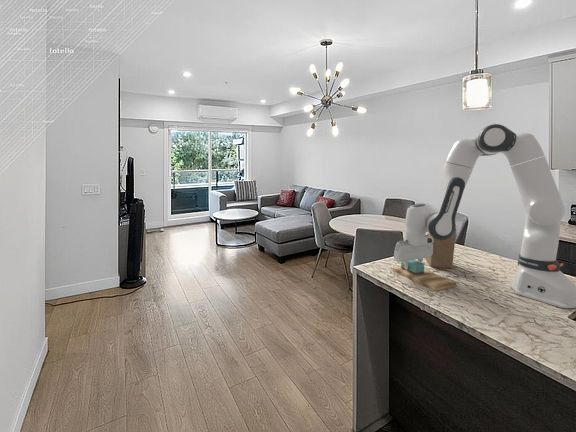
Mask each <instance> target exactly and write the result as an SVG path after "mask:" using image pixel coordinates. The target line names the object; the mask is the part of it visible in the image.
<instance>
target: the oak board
mask: <svg viewBox="0 0 576 432" xmlns="http://www.w3.org/2000/svg"><path fill="white" fill-rule="evenodd" d="M392 272H395V273H396V272H397V274H398V275H400V276H403V277H405V278H407V279H410V280H411V281H413V282H416V283H418V284H419V285H422V286H423V287H426V288H429V289H430V290H432V291H439V290H445V289H449V288H454V287H457V284H458V283H457V282H456V281H453V280H451V279H448V278H446V277H444V276H441V275H439V274H436V273H434V272H431V271H429V270H427V269H424V273H419V274H414V273H412V272H410V271H407V270H405V269H403V268H401V265H400V266H399V265H398V266H395V267H394V266H393V267H392Z"/></svg>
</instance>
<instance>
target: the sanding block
mask: <svg viewBox="0 0 576 432" xmlns="http://www.w3.org/2000/svg"><path fill="white" fill-rule="evenodd" d="M400 263H401V265H400V266H401V268H403V269H404V263H403V262H400ZM408 265H409V266H410V267H409V268H410V269H407V271H410V272H412V273H414V274H419V273H424V270H425V266H426V265H425V263H420V262H418V260H416V259H415V260H409V261H408ZM405 270H406V269H405Z"/></svg>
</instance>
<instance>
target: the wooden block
mask: <svg viewBox="0 0 576 432" xmlns="http://www.w3.org/2000/svg"><path fill="white" fill-rule="evenodd" d="M456 233H457V229H456V230H455V233H454V234H453V235H452V236H451V237H450V238H448V239H446V240H438V239H435V238H434V237H432V236H431V234H430V233H429V232H427V235H428V236H427V237H430V238H433V239H434V241H433V243H432V244H433V254H432V256H431V257H428V258H425V259H426V263H427V264H428V266H429V267H431V268H440V269H441V268H442V269H452V268H453V266H454V265H453V264H454V254H455V244H456V235H457V234H456Z"/></svg>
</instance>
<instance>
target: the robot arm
mask: <svg viewBox="0 0 576 432" xmlns="http://www.w3.org/2000/svg"><path fill="white" fill-rule="evenodd" d="M497 154H503V155H504V156H505V157H506V158H507V160H508V163H509V166H510V169H511V171H512V175H513V177H514V180H515V183H516V185H517V188H518V192H519V194H520V198H521V201H522V203H523V207H524V209H525V219H524V226H523V234H522V240H521V241H522V242H521V248H520V253H519V254H518V259H517V269H516V274H515V276H514V279H513V280H512V283H511V284H510V287H511V289H512V290H514V293H515V294H517V295H519V296H523V297H524V298H525V297H526V298H527V299H533V300H535V301H538V302H541V303H546V304H547V305H551V306H555V307H558V308H561V309H575V308H576V283H574V282H573V281H572V280H571V279H569V277H567V275H565V273H564V272H562V271H561V267H563V266H564V263H563V262H562V263H559V261H558V260H557V255H558V250H559V249H558V248H559V241H560V234H561V233H560V232H561V224H562V223H561V222H562V219H563V218H564V216H565V214H566V208H565V204H564V202H563V199H562V197H561V194H560V191H559V189H558V187H557V184H556V181H555V179H554V177H553V174H552V170H551V169H550V166H549V163H548V161H547V158H546V155H545V152H544V151H543V149H542V147H541V145H540V143H539V141H538V139H537V138H536V137H535V136H534V135H533V134H532V133H529V132H523V133H518V134H516V132H514V131H512V130H511V129H510V128H508V127H506V126H505V125H502V124H499V123H493V124H489V125H487V126H485V127H484V128H483V129H481V130H480V131H479V133H478V134H477V136H476V137H475V138H473V139H467V138H461V139H458V140H456V141H455V143H454V144H453V145H452V147H451V149H450V151H449V152H448V155H447V157H446V159H445V162H444V164H443V167H442V171H441V181H442V184H443V187H444V194H443V198H442V200H441V204H440V207H439V210H435V209H433V208H431V207H429V206H428V205H426V204H425V203H414V204H411V205H410V206H409V207H407V210H406V214H405V220H404V221H405V222H404V223H405V229H404V236H403V237H404V239H403V240H399V241H398V242H396V244H395V247H394V253H393V259H394V261H396V262H399V263H401V262H403V263H404V269H406V270H407V269H410V268H409V267H410V266H409V265H408V261H409V260H415V261H416V260H417V261H418V262H420V263H422V262H423V261H424V259H426V258H428V257H431V256H432V254H433V244H432V243H433V241H434V239H433V238H430V237H428V236H427V235H426V234H427V233H428V232H429V233H430V234H431V236H432V237H434V238H435V239H438V240H446V239H448V238H450V237H451V236H452V235H453V234H454V233H455V230H456V231H457V228H456V215H457V212H458V209H459V206H460V205H461V204H460V203H461V201H462V197H463V193H464V190H465V189H466V186H467V183H468V182H469V180H470V177H471V175H472V173H473V170H474V167H475V164H476V163H477V161H478V159H479V157H482V156H483V157H484V156H495V155H497Z"/></svg>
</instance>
